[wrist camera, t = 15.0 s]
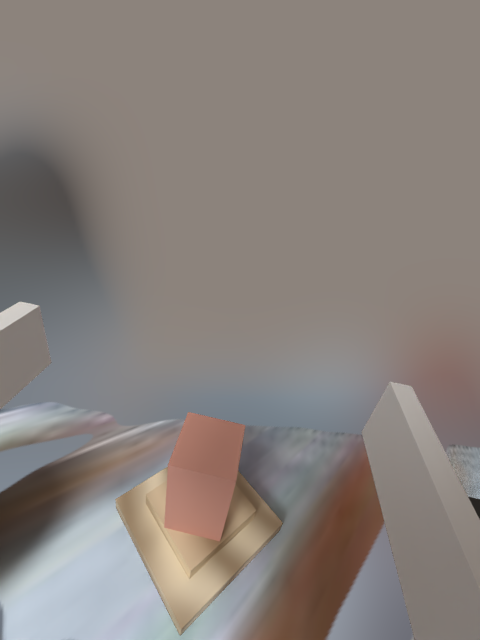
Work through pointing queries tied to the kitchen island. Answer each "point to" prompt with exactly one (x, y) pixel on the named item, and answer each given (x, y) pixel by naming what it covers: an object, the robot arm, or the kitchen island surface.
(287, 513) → the kitchen island surface
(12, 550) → the kitchen island surface
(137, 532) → the plinth
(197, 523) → the pillar
